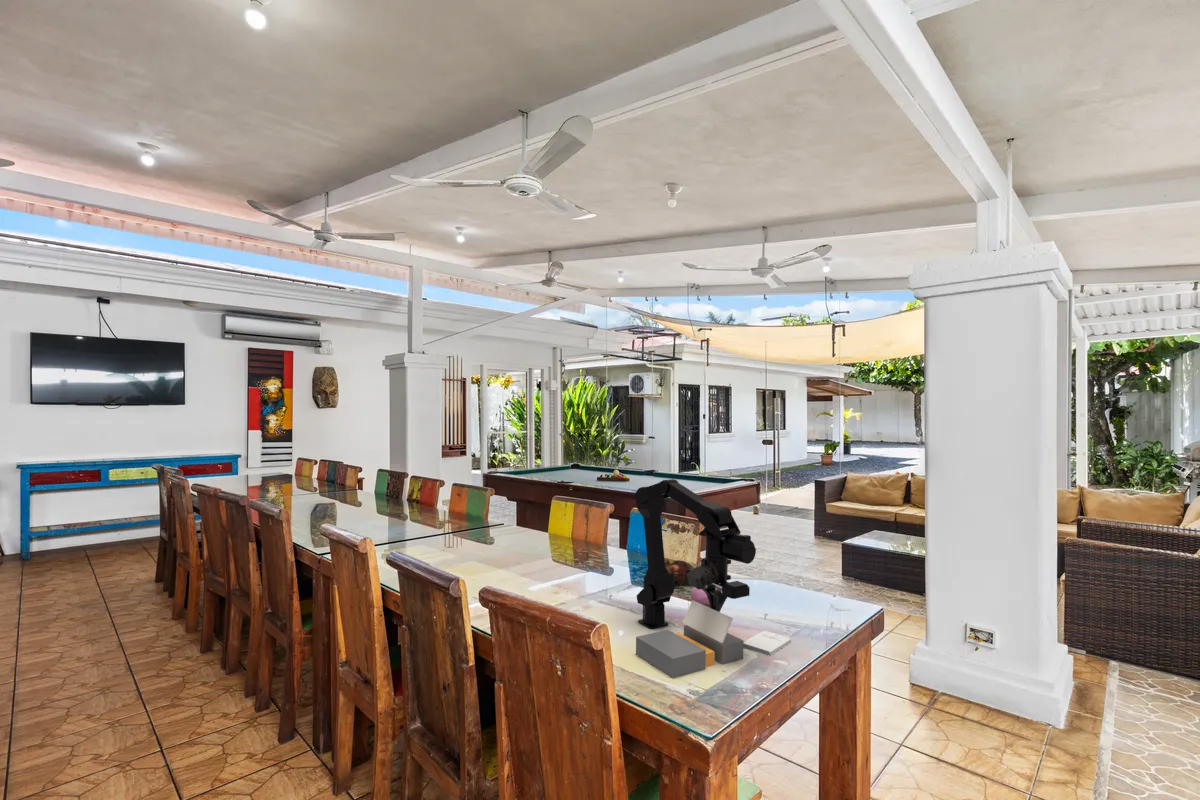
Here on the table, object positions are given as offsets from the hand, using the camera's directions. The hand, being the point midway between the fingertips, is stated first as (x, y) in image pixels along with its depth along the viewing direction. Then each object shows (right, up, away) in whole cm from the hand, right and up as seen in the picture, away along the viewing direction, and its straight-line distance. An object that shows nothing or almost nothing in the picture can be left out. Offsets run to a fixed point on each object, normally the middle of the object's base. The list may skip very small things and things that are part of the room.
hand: (715, 615), depth 159 cm
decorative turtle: (-2, -9, +58) cm, 59 cm away
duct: (-7, -9, -4) cm, 12 cm away
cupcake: (+1, -9, +24) cm, 26 cm away
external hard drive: (+14, -10, +4) cm, 18 cm away
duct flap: (-3, -1, -2) cm, 3 cm away
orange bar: (-9, -8, -5) cm, 12 cm away
